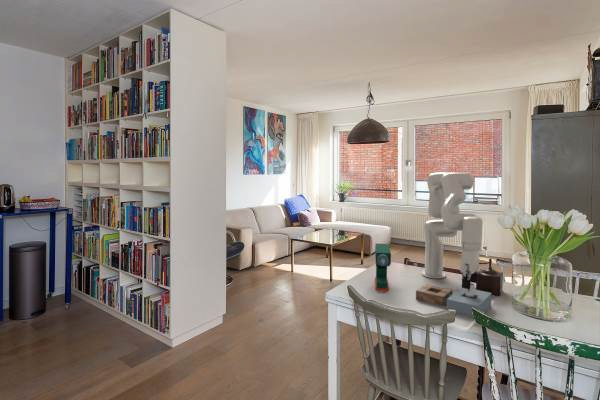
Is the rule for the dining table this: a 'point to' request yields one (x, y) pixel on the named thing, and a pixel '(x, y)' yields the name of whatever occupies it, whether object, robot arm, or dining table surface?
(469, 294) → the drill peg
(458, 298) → the slotted box
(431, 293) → the socket block
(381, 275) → the power tool
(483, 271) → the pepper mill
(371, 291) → the dining table surface
